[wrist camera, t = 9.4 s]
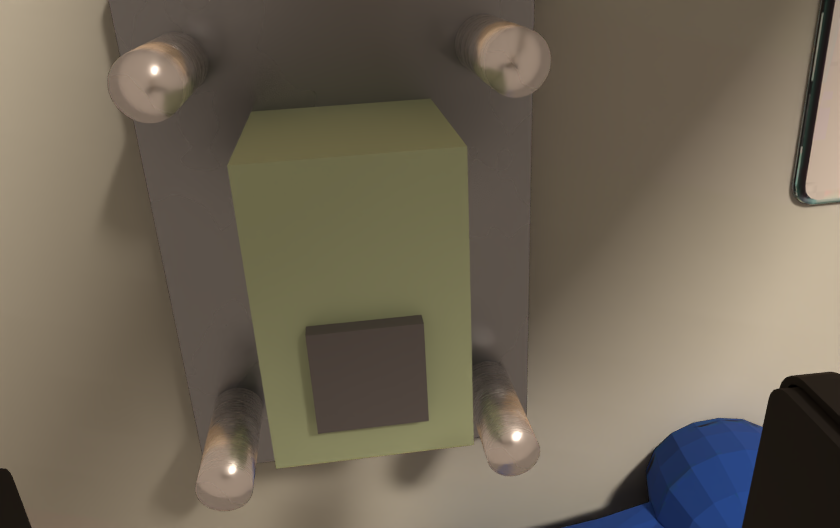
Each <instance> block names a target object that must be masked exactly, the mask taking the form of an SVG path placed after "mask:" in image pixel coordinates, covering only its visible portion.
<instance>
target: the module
mask: <svg viewBox="0 0 840 528" xmlns="http://www.w3.org/2000/svg"><path fill="white" fill-rule="evenodd" d="M227 168H228V174H229V180H230V186H231V192H232V199H233V205H234V211H235V217H236V223H237V230H238V236H239V242H240V248H241V254H242V261H243V267H244V273H245V279H246V285H247V292H248V298H249V304H250V310H251V316H252V323H253V329H254V335H255V341H256V347H257V354H258V360H259V366H260V372H261V378H262V385H263V391H264V397H265V403H266V409H267V416H268V422H269V428H270V434H271V440H272V447H273V453H274V459H275V465H276V469H279V468H287V467H295V466H304V465H312V464H320V463H328V462H337V461H345V460H353V459H361V458H370V457H378V456H386V455H395V454H403V453H411V452H419V451H428V450H436V449H444V448H452V447H461V446H469V445H474V432H473V386H472V341H471V295H470V250H469V204H468V159H467V145H466V144H465V143H464V142H463V140H462V139H461V138H460V136H459V135H458V134H457V132H456V131H455V130H454V128H453V127H452V126H451V125H450V123H449V122H448V121H447V119H446V118H445V117H444V115H443V114H442V113H441V112H440V110H439V109H438V108H437V106H436V105H435V104H434V102H433V101H432V100H431V99H417V100H403V101H390V102H376V103H362V104H349V105H335V106H321V107H308V108H294V109H280V110H266V111H253V112H251V113H250V115H249V118H248V120H247V122H246V124H245V127H244V129H243V131H242V133H241V136H240V138H239V140H238V142H237V145H236V147H235V149H234V151H233V154H232V156H231V158H230V160H229V163H228V165H227Z"/></svg>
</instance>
